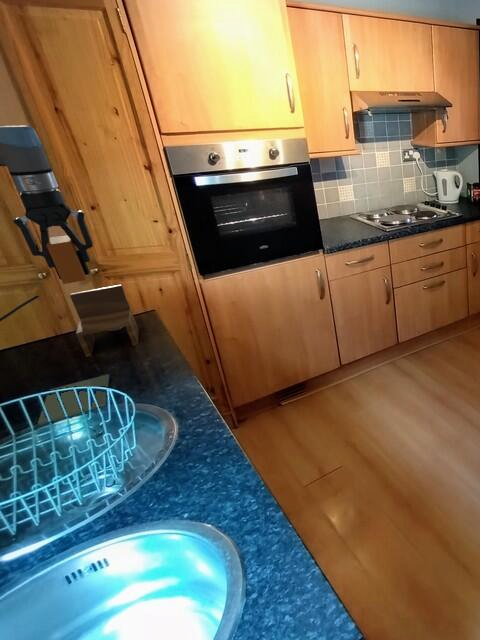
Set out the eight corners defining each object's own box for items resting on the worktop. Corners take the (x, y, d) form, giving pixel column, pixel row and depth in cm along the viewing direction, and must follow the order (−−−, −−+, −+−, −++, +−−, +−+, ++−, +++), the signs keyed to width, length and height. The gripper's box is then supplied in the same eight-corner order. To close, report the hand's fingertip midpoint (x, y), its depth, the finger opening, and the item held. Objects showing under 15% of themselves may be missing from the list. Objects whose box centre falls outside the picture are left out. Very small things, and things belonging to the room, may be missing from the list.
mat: (49, 391, 116) (48, 389, 116) (109, 375, 123) (108, 373, 122) (38, 425, 104) (37, 423, 104) (105, 406, 111) (104, 404, 111)
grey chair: (90, 340, 140) (69, 293, 134) (138, 329, 147) (121, 284, 140) (86, 357, 131) (64, 308, 125) (138, 344, 138) (119, 297, 131)
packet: (66, 275, 125) (50, 237, 121) (87, 271, 128) (72, 234, 123) (63, 284, 120) (46, 244, 115) (85, 280, 122) (69, 241, 118)
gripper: (-15, 197, 106) (28, 287, 116) (83, 188, 116) (115, 272, 126) (-8, 192, 112) (33, 278, 121) (86, 184, 122) (116, 264, 131)
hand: (75, 275), depth 123 cm, fingers closed on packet, 4 cm apart
